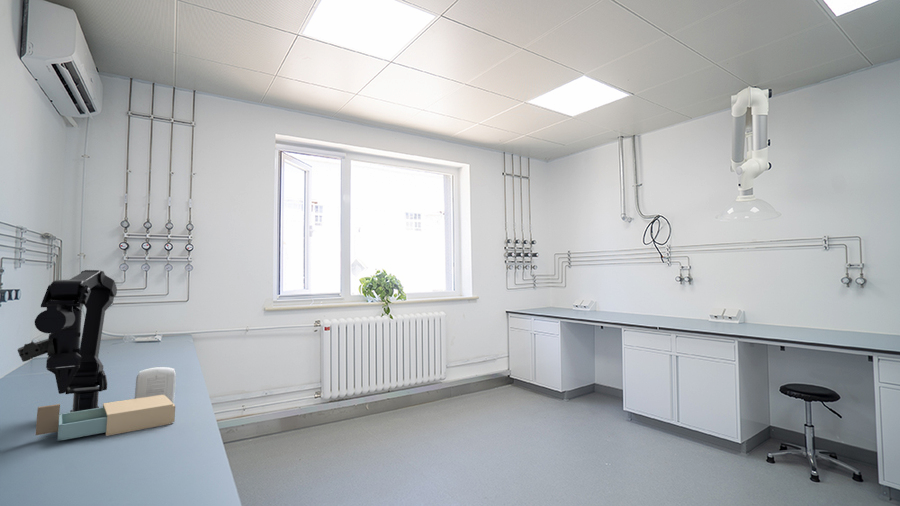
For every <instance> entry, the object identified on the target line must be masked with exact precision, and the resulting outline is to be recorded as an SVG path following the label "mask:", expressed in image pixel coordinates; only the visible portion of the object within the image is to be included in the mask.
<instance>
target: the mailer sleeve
mask: <svg viewBox="0 0 900 506" xmlns="http://www.w3.org/2000/svg"><path fill="white" fill-rule="evenodd" d="M103 407H104V409H105V412H106V414H107V427H106V432H104V433H105V436H106V437H108V436H113V435H118V434H124V433H130V432H134V431H140V430H145V429H150V428H156V427H160V426H161V427H162V426H167V425H171V424H173V423H174V422H175V417H176V405H175V403H174V404H173V403H172V402H171V401H170V400H169V399H168V398H167V397H166V396H164V395H157V396H150V397H143V398H136V399H135V398H129V399H124V400H117V401H111V402H103V403H102V408H103Z"/></svg>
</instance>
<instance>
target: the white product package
mask: <svg viewBox="0 0 900 506" xmlns="http://www.w3.org/2000/svg"><path fill="white" fill-rule="evenodd" d="M176 374H177V373H176V371H175V368H172V367H168V366H157V367H150V368H145V369H142V370H140V371H138V374H137V375H136V379H135V388H134V389H135V391H134V399H136V398H143V397H150V396H157V395H164V396H166V397H167V398H168V399H169V400H170V401H171V402H172V403H173V404H174V405H175V398H176V397H175V395H176V394H175V393H176V384H177V383H176V381H177V375H176Z"/></svg>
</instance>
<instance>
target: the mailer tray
mask: <svg viewBox="0 0 900 506" xmlns="http://www.w3.org/2000/svg"><path fill="white" fill-rule="evenodd" d="M60 407H61V404H60V403H57V404H50V405H42V406H37V410H36V411H37V412H36V424H35V436H41V435H42V436H43V435H47V434H53V433H57V441H58V442H59V441H65V440H71V439H77V438H81V437H87V436H92V435H98V434H103V433H105V432H106V427H107V414H106V412H105V409H104V407H103V406H102V407H99V408H96V409H89V410H83V411H76V412H70V411H69V412H65V413H60V410H61V408H60Z"/></svg>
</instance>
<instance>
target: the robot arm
mask: <svg viewBox="0 0 900 506" xmlns="http://www.w3.org/2000/svg"><path fill="white" fill-rule="evenodd" d="M117 289H118V288H117V284H116V282H115V280H114V279H112V278H111V277H109V276H108V275H107V274H106V273H105V271H104V270H100V269H98V270H97V269H96V270H95V269H84V270H81V271H80V273H79V274H76V275H75V276H73V277H72V278H70V279H58V280H57V279H55V280H53V281H52V282H51V283H50V284H49V285H48V286H47V288H46V291H45V292H44V293H45V294H44V296H43V298H42V301H41V303H40V308H46V310H43V311H41V312H39V313H38V314H37V315H36V318H35V319H34V326H35V328H36V329H37V330H38V331H39V332H41V333H44V334H48V338H47V339H43V340H38V341H36V342H34V341H31V342H29V343H25V344H24V346H21V347H19V348H17V353H18V356H19V357H20V360H21V361H22V362H27V361H28V362H29V361H31V359H33V358H37V357H40V356H43V355H45V354H46V356H48V357H47V358H46V367H45V368H46V370H47V371H49V372H51V373H52V374H54V377H55V382H56V386H57V391H58V394H60V395H61V394H62V395H63V394H65V395H71V394H73V395H72V409H70V410H69V413H70V412H76V411H83V410H89V409H96V408H100V406H99V392H104V391H106V390H108V379H107V375H106V372H105V370H104V365H103V363H102V361H101V360H100V358H99V354H100V347H101V341H102V335H103V334H102V333H103V328H104V322H105V314H106V311H107V310H108V309H109V308H110V307H111V305H112V304H113V303H114V299H115V297H116V296H117V293H118V290H117ZM83 307H85V316H84V322H83V329H81V328H82V327H81V326H82V314H83V311H82V310H83ZM81 330H82V332H81ZM81 333H82V335H81Z"/></svg>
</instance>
